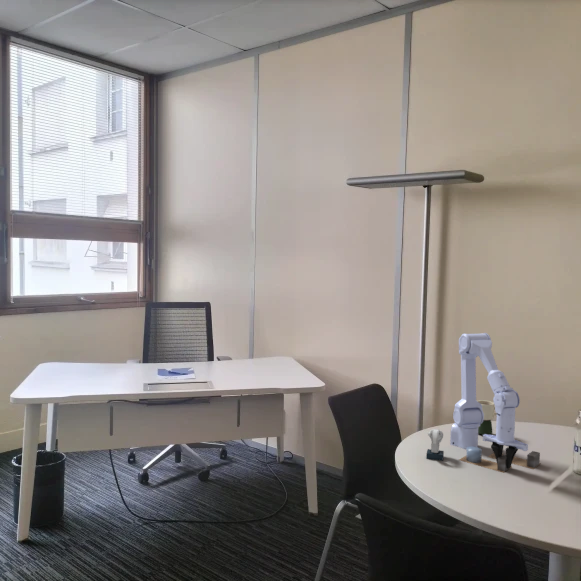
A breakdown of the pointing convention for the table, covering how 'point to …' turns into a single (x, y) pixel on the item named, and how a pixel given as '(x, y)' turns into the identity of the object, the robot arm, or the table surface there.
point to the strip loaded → (491, 464)
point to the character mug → (487, 417)
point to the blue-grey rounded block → (474, 454)
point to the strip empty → (531, 461)
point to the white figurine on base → (435, 445)
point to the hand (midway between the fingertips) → (504, 466)
